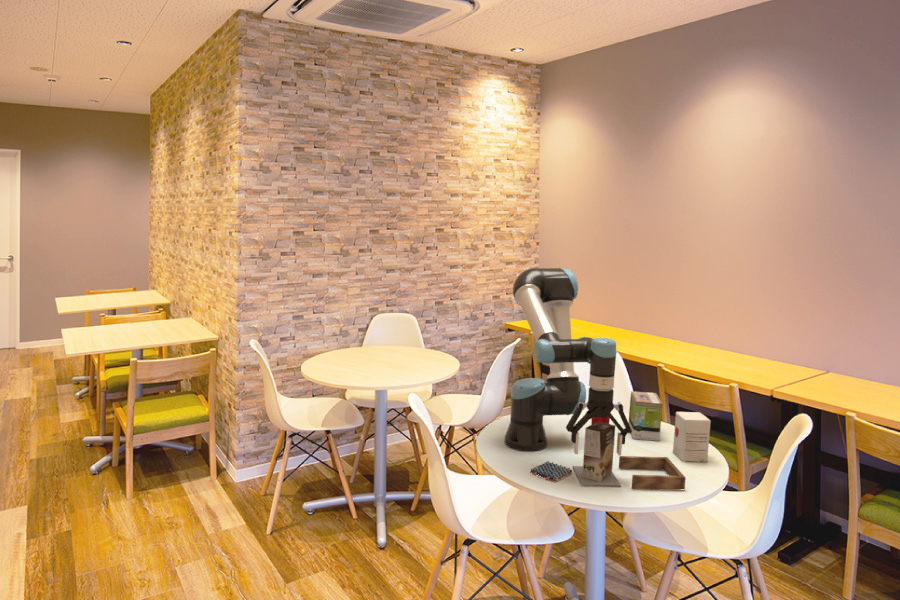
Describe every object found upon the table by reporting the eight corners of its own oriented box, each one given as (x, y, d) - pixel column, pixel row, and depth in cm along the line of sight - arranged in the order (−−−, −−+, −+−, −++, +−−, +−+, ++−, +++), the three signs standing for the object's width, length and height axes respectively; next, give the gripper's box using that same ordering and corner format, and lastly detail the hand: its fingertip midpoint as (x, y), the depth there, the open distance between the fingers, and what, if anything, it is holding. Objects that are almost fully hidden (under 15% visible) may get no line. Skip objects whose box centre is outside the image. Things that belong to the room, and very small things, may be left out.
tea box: (660, 441, 233) (663, 403, 231) (632, 439, 234) (635, 401, 232) (653, 428, 247) (656, 391, 245) (627, 426, 249) (630, 390, 247)
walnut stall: (632, 488, 191) (633, 476, 191) (618, 467, 207) (619, 456, 207) (684, 490, 191) (685, 477, 191) (666, 468, 207) (667, 457, 207)
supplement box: (671, 452, 223) (675, 411, 220) (696, 452, 223) (700, 411, 221) (681, 462, 214) (685, 419, 212) (707, 462, 214) (711, 420, 212)
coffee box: (600, 482, 194) (603, 432, 191) (581, 477, 197) (584, 428, 195) (612, 473, 201) (615, 425, 199) (594, 468, 205) (596, 420, 202)
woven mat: (527, 474, 201) (527, 468, 201) (546, 465, 209) (547, 459, 208) (555, 485, 194) (555, 478, 194) (573, 475, 201) (574, 469, 201)
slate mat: (581, 486, 192) (581, 484, 192) (572, 467, 206) (572, 466, 206) (620, 487, 192) (620, 485, 192) (609, 468, 206) (609, 466, 206)
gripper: (563, 390, 191) (559, 456, 194) (645, 392, 192) (640, 458, 194) (559, 383, 199) (555, 447, 202) (637, 385, 199) (633, 449, 202)
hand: (597, 453), depth 198 cm, fingers open, 13 cm apart
